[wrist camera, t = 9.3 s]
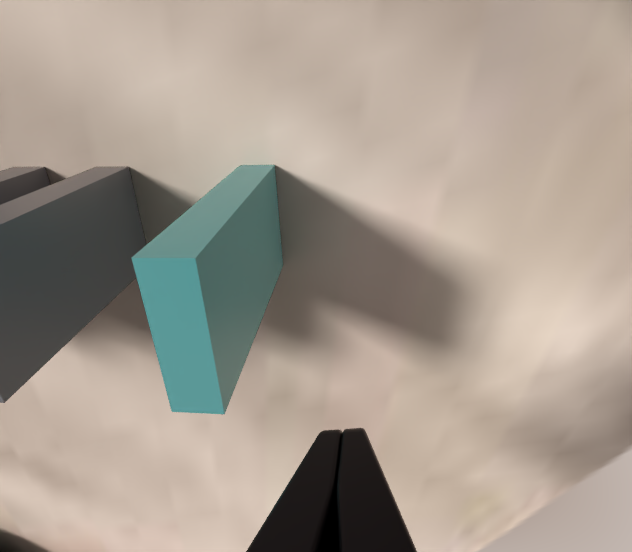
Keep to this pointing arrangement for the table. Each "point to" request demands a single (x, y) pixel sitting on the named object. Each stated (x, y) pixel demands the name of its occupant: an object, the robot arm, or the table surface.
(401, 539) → the robot arm
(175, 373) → the domino
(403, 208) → the table surface
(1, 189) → the domino
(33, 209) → the domino
